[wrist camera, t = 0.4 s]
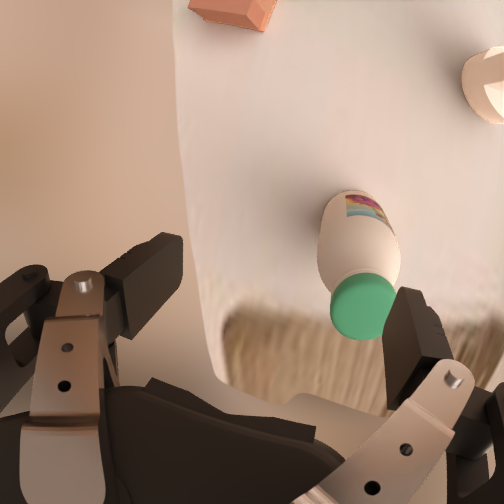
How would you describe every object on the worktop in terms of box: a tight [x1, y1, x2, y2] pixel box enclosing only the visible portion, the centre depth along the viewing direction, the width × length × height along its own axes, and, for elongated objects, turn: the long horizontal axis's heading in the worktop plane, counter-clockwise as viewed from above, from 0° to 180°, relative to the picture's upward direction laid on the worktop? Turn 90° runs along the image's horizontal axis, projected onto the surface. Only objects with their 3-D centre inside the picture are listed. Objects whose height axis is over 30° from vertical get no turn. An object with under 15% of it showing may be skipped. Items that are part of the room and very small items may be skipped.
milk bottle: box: [317, 190, 400, 340], centre depth 27 cm, size 8×8×20 cm
